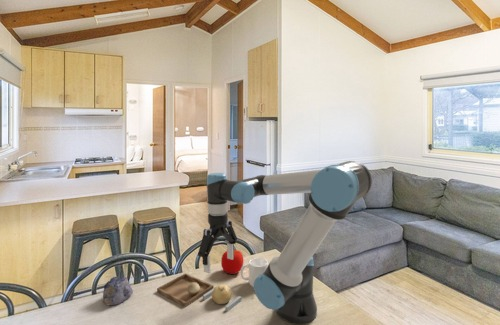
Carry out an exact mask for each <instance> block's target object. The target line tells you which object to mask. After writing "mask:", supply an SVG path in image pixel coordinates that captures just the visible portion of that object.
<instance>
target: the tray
mask: <svg viewBox="0 0 500 325" xmlns="http://www.w3.org/2000/svg"><path fill="white" fill-rule="evenodd" d="M192 282H196V283H198V284H199V286H200V290H199V292H198V294H196V295H190V294H189V293H188V290H187V289H188V286H189V284H190V283H192ZM214 286H215V285H213V284H210V283H208V282H206V281H204V280H202V279H199V278H197V277H195V276H192V275H190V274H188V273H186V272H185V273H183V274H181V275H180V276H178V277H176V278H173V279H172V280H170V281H168V282H166V283H165V284H163V285H161V286H159V287H157V288H156V292H157V293H159V294H160V295H162V296H164V297H166V298H168V299H170V300H171V301H173V302H175V303H177V304H179V305H181V306H182V307H184V308H186V307H188V306H190V305H192V304H193V303H195V302H196V301H198V300H199V299H200V298H203V295H204V294H206V293H207V292H209V291H210V290H212V289H213V288H215V287H214Z"/></svg>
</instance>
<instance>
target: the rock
mask: <svg viewBox="0 0 500 325" xmlns="http://www.w3.org/2000/svg"><path fill="white" fill-rule="evenodd" d="M133 291H134V290H133V288H132V286H131V284H130V282H129V280H128V277H126V276H125V277H123V276H114V277H111V278H110V280H109V281H107V282H106V283H105V284H103V291H102V292H103V293H102V294H103V295H102V299H103V303H104V304H106V305H108V306H113V305H114V306H115V305H120V304H122V303H123V302H124V301H126V300H129V299H130V298H131V297H132V295H133Z"/></svg>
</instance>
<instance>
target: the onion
mask: <svg viewBox="0 0 500 325" xmlns="http://www.w3.org/2000/svg"><path fill="white" fill-rule="evenodd" d="M232 295H233V292H232V289H231V288H230V287H229V285H227V284H219V285H217V287H216V286H215V287H214V290H213V292H212V296H211V297H212V300H213V302H214V303H215V304H217V305H227V303H230V302H231V299H232Z"/></svg>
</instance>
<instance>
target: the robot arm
mask: <svg viewBox="0 0 500 325" xmlns="http://www.w3.org/2000/svg"><path fill="white" fill-rule="evenodd" d="M372 185H373V176H372V174H371V172H370V170H369V169H368V167H367V166H366V165H364V164H363V163H361V162H359V161H355V160H349V161H344V162H340V163H337V164H331V165H328V166H325V167H324V168H322V169H315V170H314V169H313V170H305V171H297V172H287V173H277V174H276V173H275V174H267V175H266V174H260V175H257V176H252V177H249V178H245V179H240V180H229V179H228V177H227V174H226V173H224V172H212V173H209V174H208V175H207V176H206V193H207V196H206V197H207V213H208V214H207V221H208V224H209V228H208V229H203V231H202V232H203V234H202V235H203V236H202V238H201V242H200V244H199V245H200V246H199V249H198V252H197V256H198V257H200V258H201V259H202V265H203V272H205V273H207V274H211V256H210V253H211V251H212V248H213V246H214V244H215V242H216V241H217V240H218V238H220V237H224V239H226V241H227V242H226V251H227V258H228V259H231V260H233V250H235V249H234V248H235V247H234V245H236V242H237V241H238V237H237V235H236V234H237V233H236V232H235V230H234V228H233V221H231V220H228V219H229V218H228V215H229V214H228V209H229V208H228V202H232V203H237V204H240V205H241V204H243V205H248V204H250V203H251V201H253V199H254V198H255V197H256V198H257V197H259V196H271V195H293V194H309V195H308V198H307V199H308V203H309V205H308V207H307V208H306V210H305V212H304V214H303V215H302V217H301V219H300V220H299V222H298V224H297V225H296V228H294V231H293V232H292V234H291V236H290V237H289V239H288V241H287V243H286V244H285V245H284V248H283V249H282V251H281V252H280V253H279V255H278V256H275V257H273V258H271V260H270V262H268V267H267V268H266V270H265V271H264V273H262V274H260V275H259V276H258V277H257V278H256V279H255V281H254V287H253V290H254V292H255V296H256V297H257V299H258V301H259V302H260V304H262V305H263V306H264V307H265V308H266V309H269V310H272V311H276V313H277V315H278V316H279V317H280V318H281V319H283V320H284V321H286V322H289V323H291V324H292V323H293V324H307V323H310V322H312V321H314V320H315V319H316V317H317V314H318V306H317V302H316V300H315V297H314V296H315V295H314V293H313V292H314V290H313V289H314V269H315V268H314V266H315V264H314V255H315V253H316V252H317V251H318V249H319V247H320V245H321V244H322V243H323V241H324V240H325V238H327V237H326V236H327V235H328V233H330V230H331V229H332V228H333V226H334V224H335V223H336V221H337V222H338V221H339V222H340V221H343V220H344V219H345V218H346V217H347V215H348V214H349V212H350V211H351V210H352V208H353V206H354V205H355V204H356V202H357V201H359V200H360V199H362V198H364V197H366V195H367V194H368V193H369V192H370V191H371V188H372Z"/></svg>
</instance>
